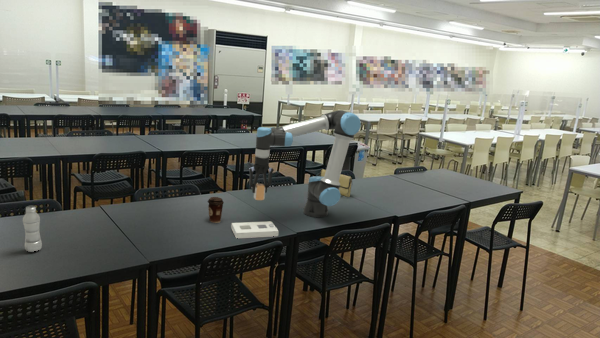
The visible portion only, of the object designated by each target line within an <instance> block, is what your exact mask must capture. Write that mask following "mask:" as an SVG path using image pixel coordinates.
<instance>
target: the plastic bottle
mask: <svg viewBox="0 0 600 338" xmlns="http://www.w3.org/2000/svg"><path fill="white" fill-rule="evenodd" d="M36 211H37V207H36V206H35V205H28V206H25V214H24V215H23V217H22V224H23V228H24V234H25V237H24V250H25V251H26V252H27V251H28V253H35V252H34V251H36V252H38V250H39V251H40V250H41V249H42V247H43V246H42V245H43V243H42V242H43V241H42V238H41V234H40V224H41V217H40V214H38V213H37V212H36Z"/></svg>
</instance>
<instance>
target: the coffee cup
mask: <svg viewBox="0 0 600 338" xmlns="http://www.w3.org/2000/svg"><path fill="white" fill-rule="evenodd" d="M207 203H208V206H207V207H208V220H209V222H211V223H214V224H217V223H218V224H219V223H221V221H222V214H223V207H224V206H223V205H224V201H223V198H221V197H218V196H210V197H209V198H208V200H207Z"/></svg>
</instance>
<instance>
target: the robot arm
mask: <svg viewBox="0 0 600 338" xmlns="http://www.w3.org/2000/svg"><path fill="white" fill-rule="evenodd" d="M361 127H362V123H361V119H360V118H359V116H358V115H357V114H355V113H354V112H349V111H346V110H342V109H340V110H335V111H330V112H326V113H324V114H322V115H321V116H317V117H315V118H314V117H313V118H310V119H307V120H301V121H299V122H295V123H290V124H286V125H282V126H278V127H277V126H276V127H275V126H273V127H272V126H271V127H266V126H265V127H263V126H259V127H258V128H257V130H256V137H255V138H256V139H255V152H254V155H255V157H254V165H253V166H252V167H248V171H249V181H248V182H249V183H248V184H249V186H250V187H252V193H253V199H254V200H256V192H257V187H256V184H258V181H259V180H258V179H259V176H260V174H261V175H262V177H263V185H264V199H263V200H265V197H266V194H267V191H268V187H271V185H272V178H273V172H274V170H275V169H274V168H273V167H270V165H269V164H270V158H269V157H270V151H271V147H285V148H287V147H291V146H292V144H293V142H294V138H295V137H300V136H302V135H307V134H311V133H314V132H319V131H323V130H325V131H331V130H333V135H334V141H333V145H332V147H331V152H330V155H329V159H328V161H327V165H326V169H325V170H326V172H325V176H324V177H322V176H318V175H316V176H313V175H312V176H310V177H309V178H308V182H307V183H308V184H307V185H308V186H307V198H306V199H307V200H306V203H305V204H304V207H303V210H302V213H303V214H304V215H306V216H307V217H312V218H325V217H327V216H328V214H329V209H328V207H332V206H335V205H336V204H338V203H339V201H340V200H341V198H342V197H341V196H342V195H341V194H340V191H339V188H340V183H339V178H340V174H341V173H342V170H343V168H344V167H343V166H344V163H345V160H346V156H347V154H348V150H349V145H350V143H351V141H352V140H354V139H355V135H356V134H357V133H359V131H360V130H361ZM254 171H255V175H253V174H254ZM267 171H268V178H267ZM253 176H254V177H253Z"/></svg>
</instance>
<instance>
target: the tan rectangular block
mask: <svg viewBox="0 0 600 338" xmlns="http://www.w3.org/2000/svg"><path fill="white" fill-rule="evenodd" d="M256 187H257V192H256V199H255V200H256V201H264V200H265V199H264V183H256Z"/></svg>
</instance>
